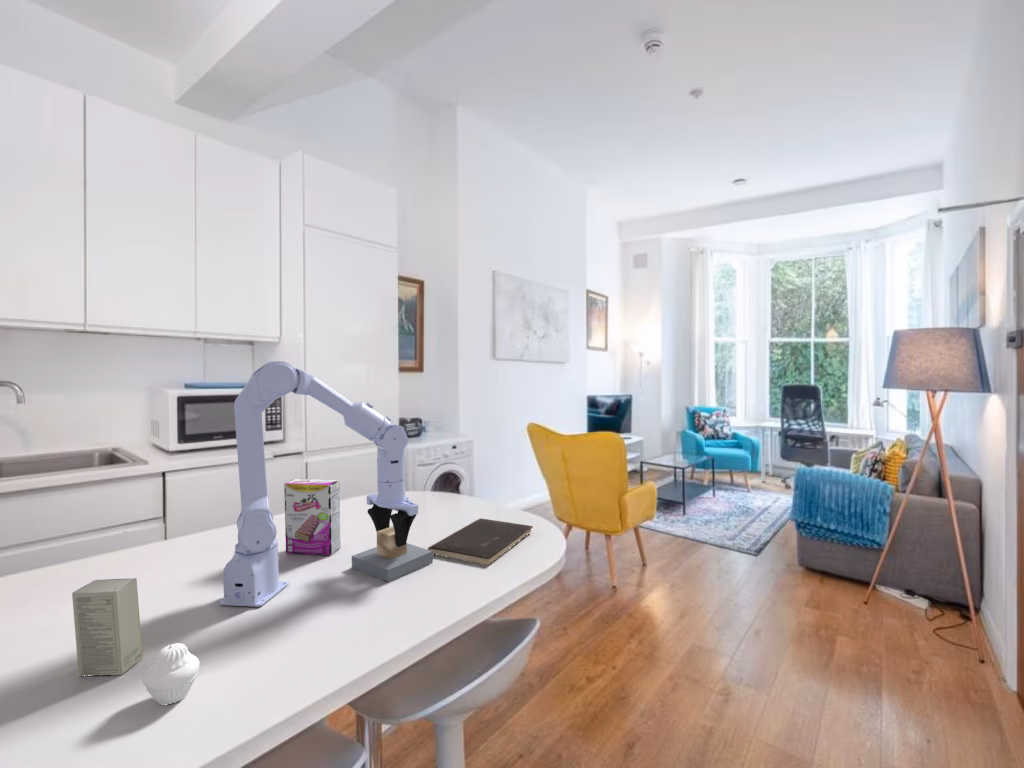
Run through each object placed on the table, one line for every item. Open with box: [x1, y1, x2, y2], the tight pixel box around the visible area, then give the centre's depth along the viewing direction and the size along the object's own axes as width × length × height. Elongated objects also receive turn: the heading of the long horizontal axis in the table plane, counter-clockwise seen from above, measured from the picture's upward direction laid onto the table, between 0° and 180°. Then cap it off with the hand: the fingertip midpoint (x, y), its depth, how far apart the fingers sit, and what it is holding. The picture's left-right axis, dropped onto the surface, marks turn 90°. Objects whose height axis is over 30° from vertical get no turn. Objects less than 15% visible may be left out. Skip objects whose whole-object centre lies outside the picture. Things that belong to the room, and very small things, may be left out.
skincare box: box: [71, 577, 143, 677], centre depth 72 cm, size 6×4×12 cm
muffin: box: [142, 642, 200, 706], centre depth 65 cm, size 6×6×7 cm
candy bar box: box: [283, 478, 341, 556], centre depth 115 cm, size 11×5×16 cm, turn 84°
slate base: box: [351, 542, 434, 583], centre depth 108 cm, size 12×12×2 cm
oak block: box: [376, 525, 408, 559], centre depth 107 cm, size 4×4×5 cm
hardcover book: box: [427, 517, 534, 566], centre depth 121 cm, size 16×23×2 cm
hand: (392, 542), depth 107 cm, fingers open, 5 cm apart
